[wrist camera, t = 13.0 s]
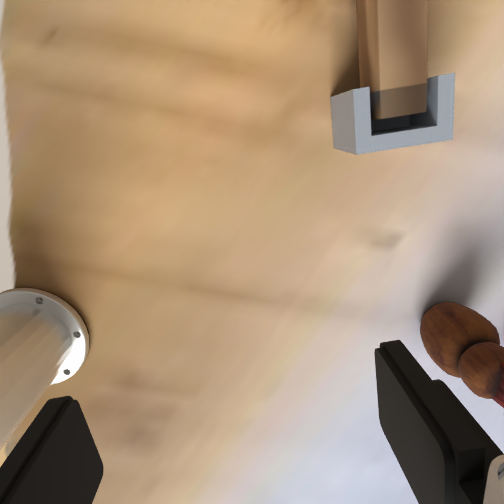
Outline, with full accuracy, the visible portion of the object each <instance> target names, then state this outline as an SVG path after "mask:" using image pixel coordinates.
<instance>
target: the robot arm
mask: <svg viewBox="0 0 504 504" xmlns="http://www.w3.org/2000/svg"><path fill="white" fill-rule="evenodd" d="M88 351H89V335H88V332H87V328H86V326H85V324H84V322H83V320H82V318H81V317H80V316H79V314H78V313H77V312H76V311H75V310H74V309H73V308H72V307H71V306H70V305H69V304H68V303H67V302H65V301H64V300H62V299H61V298H59V297H57V296H55V295H53V294H51V293H49V292H46V291H42V290H39V289H32V288H15V289H10V290H7V291H4V292H2V293H0V449H1V448H2V447H3V446H4V444H5V443H6V442H7V440H8V439H9V438H10V436H11V435H12V434H13V433H14V431H15V430H16V429H17V427H18V426H19V425H20V423H21V422H22V421H23V420H24V418H25V417H26V416H27V414H28V413H29V412H30V410H31V409H32V408H33V407H34V405H35V404H36V403H37V401H38V400H39V399H40V397H41V396H42V395H43V394H44V392H45V391H46V390H47V388H48V387H49V386H50V385H51V384H56V383H59V382H62V381H64V380H67V379H68V378H70V377H71V376H73V375H74V374H75V373H76V372H77V371H78V370H79V369H80V367H81V366H82V364H83V363H84V361H85V359H86V357H87V355H88ZM375 365H376V379H377V393H378V407H379V419H380V424H381V427H382V429H383V432H384V434H385V436H386V438H387V440H388V442H389V444H390V446H391V448H392V450H393V452H394V454H395V456H396V458H397V460H398V462H399V464H400V466H401V468H402V470H403V472H404V474H405V476H406V478H407V480H408V482H409V484H410V486H411V488H412V490H413V493H414V495H415V497H416V499H417V501H418V503H419V504H504V454H503V452H502V451H501V450H500V449H499V448H498V446H497V445H496V444H495V443H494V442H493V440H492V439H491V438H490V437H489V436H488V434H487V433H486V432H485V431H484V430H483V428H482V427H481V426H480V425H479V424H478V422H477V421H476V420H475V419H474V418H473V416H472V415H471V414H470V413H469V412H468V410H467V409H466V408H465V407H464V406H463V405H462V403H461V402H460V401H459V400H458V399H457V397H456V396H455V395H454V394H453V393H452V391H451V390H450V389H449V388H448V387H447V385H446V384H445V383H444V382H443V381H441V380H439V379H438V380H431V378H430V377H429V376H428V374H427V373H426V372H425V371H424V369H423V368H422V367H421V366H420V364H419V363H418V362H417V361H416V359H415V358H414V357H413V356H412V354H411V353H410V352H409V351H408V349H407V348H406V347H405V346H404V344H403V343H402V342H401V341H400V340H395V341H389V342H383V343H380V348H377V349H375ZM102 476H103V463H102V460H101V458H100V455H99V453H98V450H97V448H96V445H95V443H94V440H93V438H92V435H91V433H90V430H89V427H88V425H87V422H86V420H85V417H84V415H83V412H82V410H81V407H80V405H79V403H78V401H77V400H73V398H72V397H71V396H65V397H59V398H53V399H50V400H48V401H47V402H46V404H45V405H44V406H43V408H42V409H41V411H40V412H39V413H38V415H37V416H36V418H35V419H34V421H33V422H32V423H31V425H30V426H29V428H28V429H27V430H26V432H25V433H24V435H23V436H22V437H21V439H20V440H19V442H18V443H17V445H16V446H15V447H14V449H13V450H12V452H11V453H10V454H9V456H8V457H7V459H6V460H5V461H4V463H3V464H2V466H1V467H0V504H92V502H93V500H94V497H95V495H96V492H97V489H98V487H99V484H100V482H101V479H102Z"/></svg>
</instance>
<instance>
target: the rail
mask: <svg viewBox="0 0 504 504" xmlns="http://www.w3.org/2000/svg"><path fill="white" fill-rule="evenodd" d="M356 7H357V29H358V51H359V74H360V88H364V87H369V88H370V114H371V119H384V118H391V117H397V116H404V115H410V114H416V113H423V112H426V107H427V20H428V0H356Z"/></svg>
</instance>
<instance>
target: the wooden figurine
mask: <svg viewBox="0 0 504 504" xmlns="http://www.w3.org/2000/svg"><path fill="white" fill-rule="evenodd" d="M420 334H421V338H422V341H423V344H424V347H425V349H426V351H427V353H428V354H429V356H430V357H431V359H432V360H433V361H434V362H435V363H436V364H437V365H438V366H439V367H440V368H441V369H442V370H443V371H445V372H446V373H447V374H449V375H452V376H455V377H458V378H461V379H462V380H463V382H464V383H465V384H466V385H467V387H468V388H469V389H470V390H471V391H472V392H473V393H474V394H476V395H478V396H479V397H483V398H486V399H493V400H494V401H496V402H497V403H498V404H499V405H501V406H502V407H503V408H504V347H502V346H500V339H499V334H498V332H497V329H496V327H495V326H494V325H493V324H492V323H491V322H490V321H488V320H487V319H486V318H484V317H483V316H482V315H480V314H479V313H477V312H476V311H474V310H472V309H470V308H468V307H465V306H462V305H460V304H457V303H455V302H441V303H438V304H436V305H434V306H432V307H431V308H430V309H429V310H428V311H427V312H426V313H425V314H424V316H423V318H422V321H421V326H420Z"/></svg>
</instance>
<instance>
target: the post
mask: <svg viewBox="0 0 504 504" xmlns="http://www.w3.org/2000/svg"><path fill="white" fill-rule="evenodd" d="M454 90H455V73H451V74H444V75H438V76H435V77H431V78H427V107H426V112H423V113H416V114H410V115H404V116H397V117H391V118H384V119H371V114H370V88H369V87H364V88H358V89H352V90H350V91H347V92H344V93H341V94H338V95H335V96H332V97H330V101H331V115H332V129H333V143H334V148H335V149H338V150H342V151H345V152H349V153H353V154H356V155H357V154H363V153H370V152H376V151H383V150H389V149H396V148H402V147H409V146H415V145H422V144H428V143H435V142H441V141H448V140H453V119H454Z"/></svg>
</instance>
